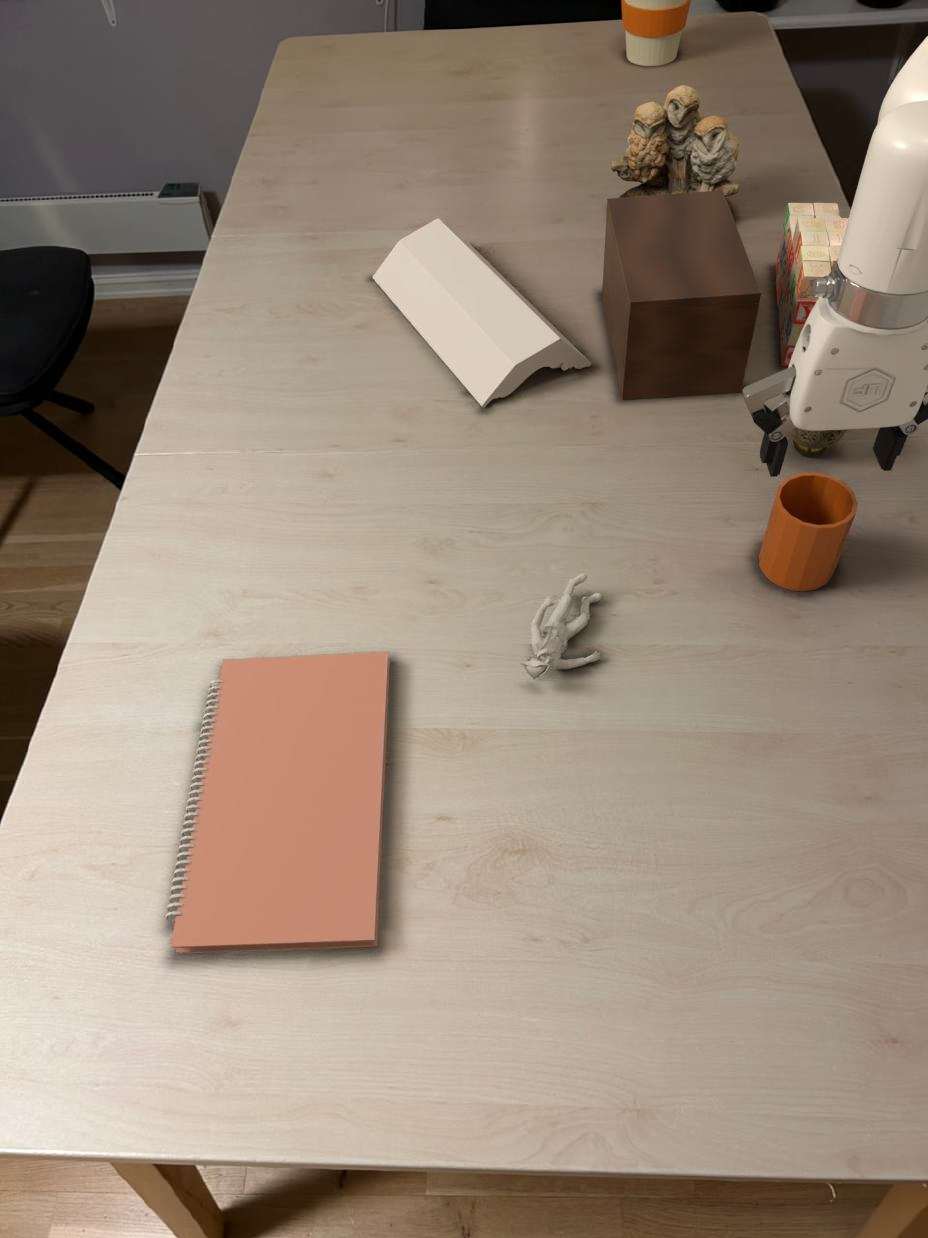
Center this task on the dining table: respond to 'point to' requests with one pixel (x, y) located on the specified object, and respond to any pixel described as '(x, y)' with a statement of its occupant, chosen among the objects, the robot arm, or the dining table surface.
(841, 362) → the robot arm
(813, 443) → the cup
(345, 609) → the dining table surface
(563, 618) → the grey humanoid figurine
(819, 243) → the stack of blocks
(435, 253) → the molding piece
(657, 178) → the owl figurine
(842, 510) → the cup
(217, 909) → the notebook
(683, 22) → the reusable coffee cup
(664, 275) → the dark brown wooden block
